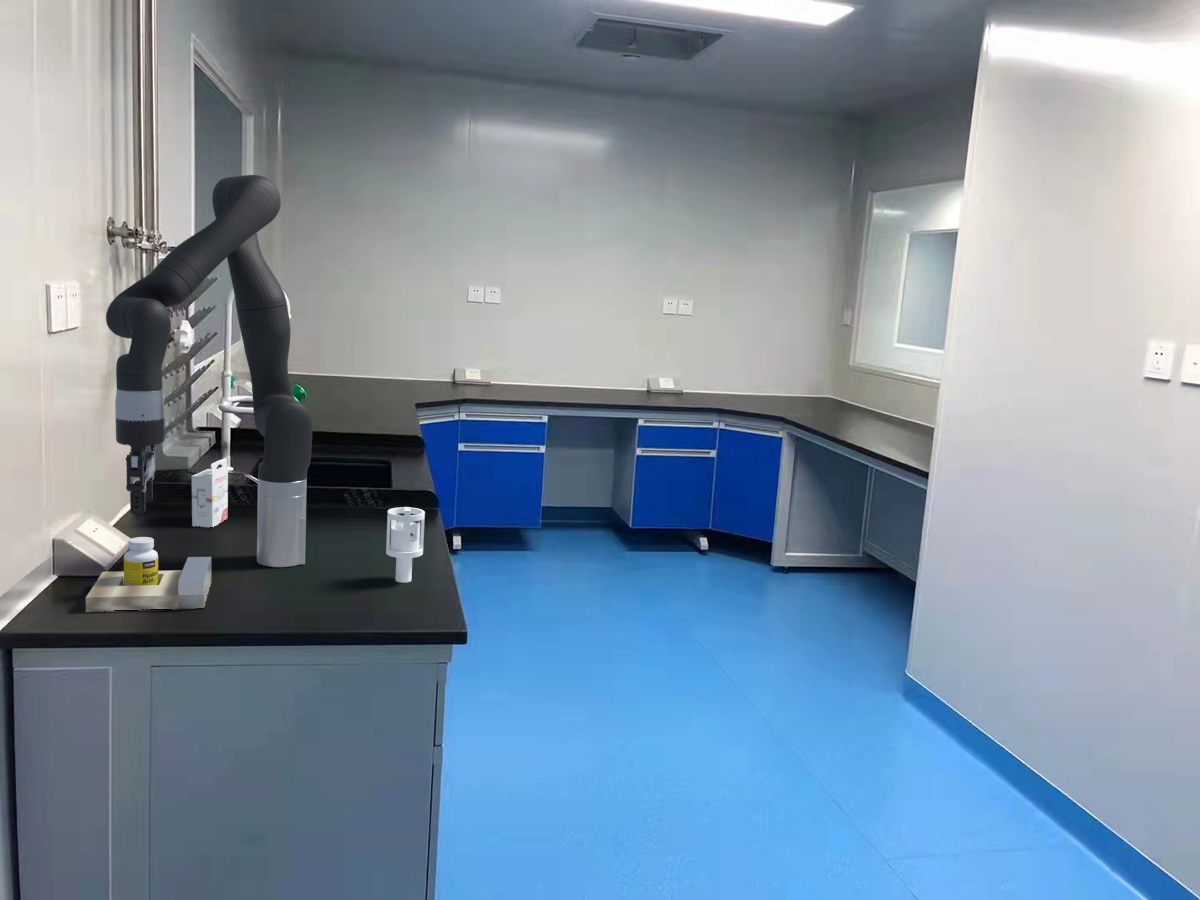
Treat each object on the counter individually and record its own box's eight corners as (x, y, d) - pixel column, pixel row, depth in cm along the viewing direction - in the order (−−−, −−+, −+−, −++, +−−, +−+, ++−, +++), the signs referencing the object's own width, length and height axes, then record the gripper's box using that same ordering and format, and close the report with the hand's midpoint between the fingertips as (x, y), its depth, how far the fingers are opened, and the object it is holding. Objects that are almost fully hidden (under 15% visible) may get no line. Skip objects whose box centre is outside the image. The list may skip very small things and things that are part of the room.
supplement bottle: (144, 599, 161) (144, 545, 159) (117, 595, 162) (116, 541, 160) (164, 590, 166) (164, 537, 164) (138, 586, 167) (137, 534, 165)
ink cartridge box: (207, 517, 216) (207, 455, 214) (228, 519, 216) (228, 457, 214) (190, 526, 208) (190, 462, 205) (212, 528, 208) (212, 463, 205)
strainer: (385, 586, 178) (388, 510, 175) (384, 574, 184) (387, 501, 182) (423, 585, 180) (426, 510, 177) (420, 574, 186) (423, 501, 184)
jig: (211, 582, 172) (211, 556, 171) (203, 608, 159) (203, 580, 158) (102, 585, 166) (102, 558, 166) (86, 612, 153) (85, 583, 152)
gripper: (158, 422, 153) (160, 517, 156) (169, 409, 166) (170, 497, 169) (107, 421, 151) (110, 518, 153) (123, 408, 164) (125, 498, 167)
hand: (141, 507), depth 161 cm, fingers open, 8 cm apart
